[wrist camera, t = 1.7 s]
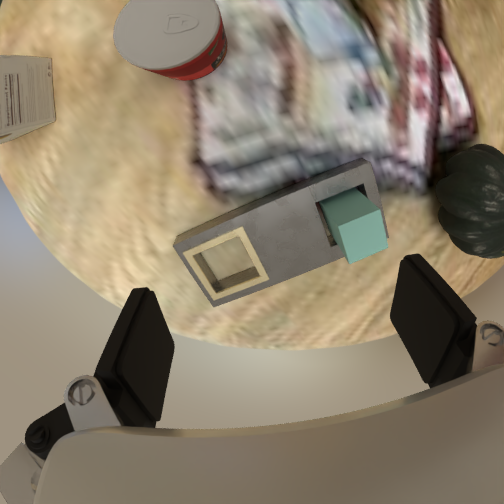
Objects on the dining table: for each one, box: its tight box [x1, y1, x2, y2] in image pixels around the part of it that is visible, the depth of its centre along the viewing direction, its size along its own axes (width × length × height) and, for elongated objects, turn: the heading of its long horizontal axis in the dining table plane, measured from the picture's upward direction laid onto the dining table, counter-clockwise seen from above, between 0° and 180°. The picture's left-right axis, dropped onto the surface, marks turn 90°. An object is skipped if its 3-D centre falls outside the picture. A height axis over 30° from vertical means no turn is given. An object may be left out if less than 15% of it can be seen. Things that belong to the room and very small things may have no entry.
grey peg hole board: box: [173, 158, 389, 307], centre depth 33 cm, size 24×10×3 cm, turn 114°
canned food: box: [113, 0, 227, 80], centre depth 19 cm, size 8×8×11 cm
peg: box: [319, 187, 388, 264], centre depth 29 cm, size 4×4×8 cm
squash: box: [435, 144, 504, 259], centre depth 26 cm, size 14×15×15 cm
